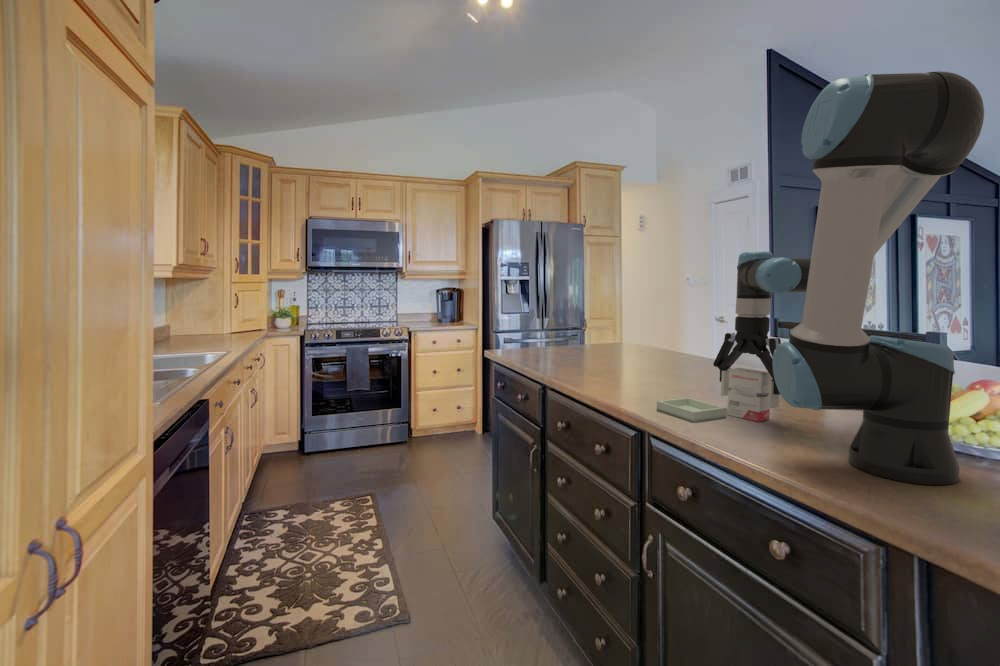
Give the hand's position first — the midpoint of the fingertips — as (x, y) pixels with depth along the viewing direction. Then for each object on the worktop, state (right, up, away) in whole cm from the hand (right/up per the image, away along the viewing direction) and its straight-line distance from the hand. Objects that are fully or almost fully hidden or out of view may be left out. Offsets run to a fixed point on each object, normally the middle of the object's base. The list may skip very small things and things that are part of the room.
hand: (748, 401), depth 122 cm
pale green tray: (-13, -4, +3) cm, 14 cm away
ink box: (0, -4, 0) cm, 4 cm away
